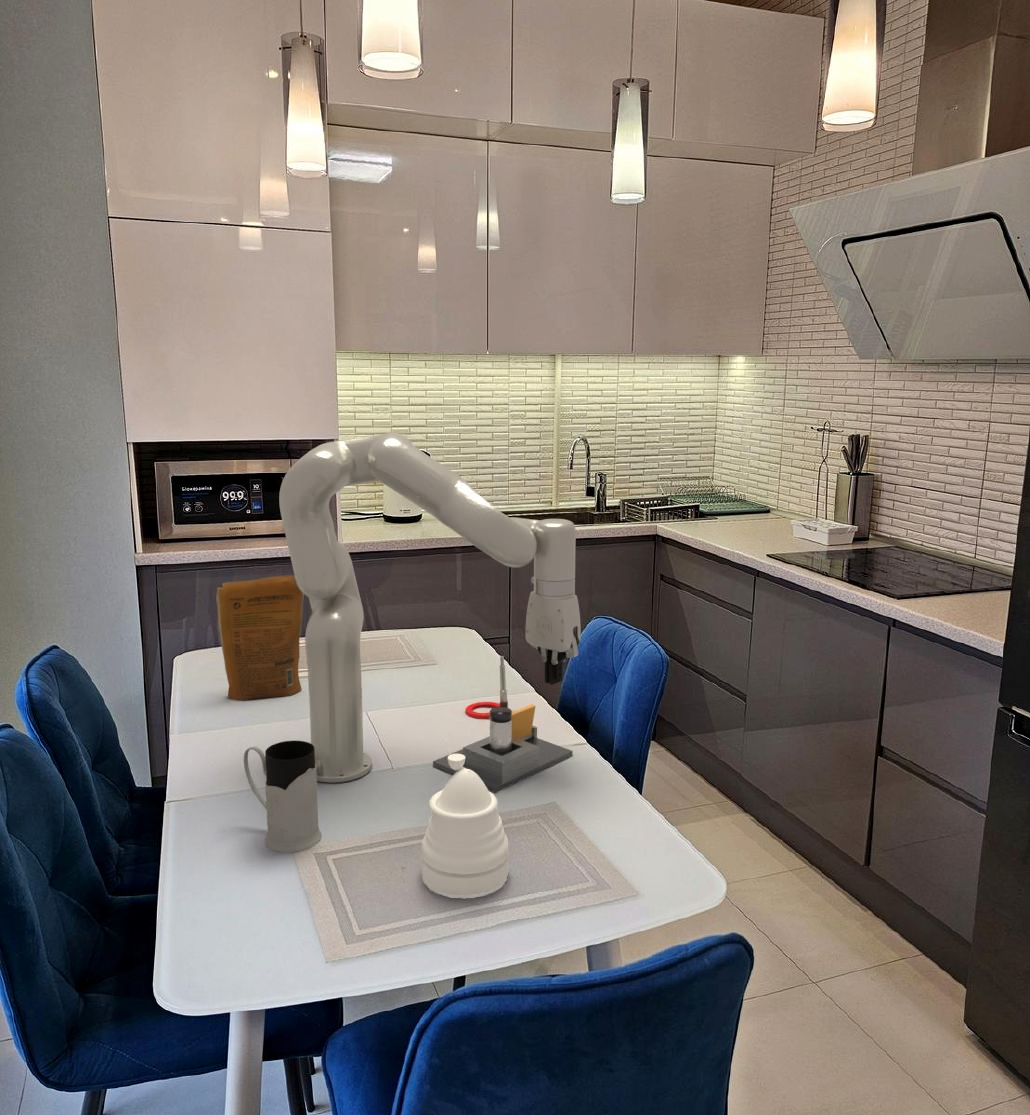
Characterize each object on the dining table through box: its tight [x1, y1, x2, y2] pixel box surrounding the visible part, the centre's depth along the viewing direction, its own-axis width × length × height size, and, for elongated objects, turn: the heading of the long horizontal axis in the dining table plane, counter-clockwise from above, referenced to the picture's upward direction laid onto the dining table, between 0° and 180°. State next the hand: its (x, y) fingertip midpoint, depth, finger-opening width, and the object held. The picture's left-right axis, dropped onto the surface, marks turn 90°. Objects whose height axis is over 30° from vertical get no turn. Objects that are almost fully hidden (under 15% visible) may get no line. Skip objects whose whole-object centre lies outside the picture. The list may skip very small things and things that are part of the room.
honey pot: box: [421, 753, 510, 895], centre depth 132 cm, size 13×13×18 cm
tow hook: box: [465, 655, 509, 720], centre depth 197 cm, size 8×13×9 cm
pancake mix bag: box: [215, 574, 305, 702], centre depth 203 cm, size 7×19×28 cm, turn 110°
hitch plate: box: [432, 724, 573, 794], centre depth 173 cm, size 22×16×5 cm
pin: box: [489, 707, 513, 756], centre depth 167 cm, size 4×4×11 cm
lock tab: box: [511, 703, 536, 741], centre depth 177 cm, size 8×1×8 cm, turn 138°
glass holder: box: [243, 740, 323, 854], centre depth 144 cm, size 9×14×15 cm, turn 61°
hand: (553, 681), depth 169 cm, fingers closed
